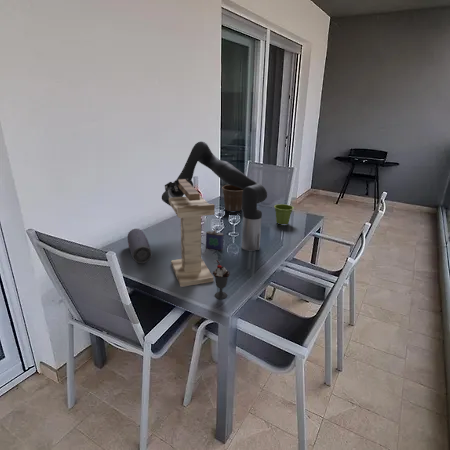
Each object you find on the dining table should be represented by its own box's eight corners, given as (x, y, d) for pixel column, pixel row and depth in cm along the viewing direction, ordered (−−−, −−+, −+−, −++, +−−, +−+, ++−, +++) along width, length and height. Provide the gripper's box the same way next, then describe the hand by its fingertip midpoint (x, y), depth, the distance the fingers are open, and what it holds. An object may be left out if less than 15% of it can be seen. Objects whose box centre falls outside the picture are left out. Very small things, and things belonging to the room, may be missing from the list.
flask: (223, 249, 162) (224, 230, 158) (222, 251, 160) (222, 232, 156) (206, 246, 164) (206, 227, 161) (204, 249, 162) (204, 229, 158)
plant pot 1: (242, 214, 212) (243, 191, 206) (219, 212, 215) (219, 189, 209) (246, 207, 226) (247, 185, 221) (224, 205, 230) (225, 183, 224)
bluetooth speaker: (127, 246, 162) (125, 228, 158) (145, 244, 165) (144, 226, 162) (132, 267, 142) (130, 247, 139) (153, 264, 146) (151, 244, 142)
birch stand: (171, 264, 146) (168, 193, 133) (200, 260, 150) (200, 191, 138) (180, 287, 128) (178, 207, 116) (213, 281, 133) (214, 204, 120)
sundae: (211, 290, 126) (212, 257, 121) (228, 290, 127) (229, 257, 122) (212, 300, 120) (213, 266, 115) (230, 300, 121) (231, 265, 115)
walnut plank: (176, 184, 140) (176, 179, 140) (185, 184, 142) (185, 178, 141) (189, 200, 120) (189, 194, 119) (199, 199, 121) (199, 193, 120)
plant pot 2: (294, 223, 200) (296, 206, 196) (287, 228, 191) (289, 211, 186) (277, 219, 206) (278, 202, 202) (269, 224, 196) (271, 207, 192)
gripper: (160, 184, 150) (165, 173, 134) (190, 182, 155) (197, 171, 139) (162, 199, 150) (167, 190, 134) (192, 197, 154) (200, 188, 138)
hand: (183, 181), depth 136 cm, fingers closed on walnut plank, 4 cm apart
